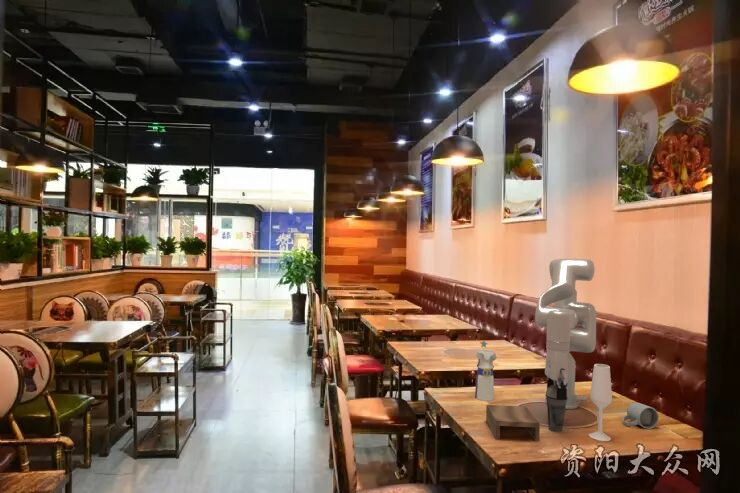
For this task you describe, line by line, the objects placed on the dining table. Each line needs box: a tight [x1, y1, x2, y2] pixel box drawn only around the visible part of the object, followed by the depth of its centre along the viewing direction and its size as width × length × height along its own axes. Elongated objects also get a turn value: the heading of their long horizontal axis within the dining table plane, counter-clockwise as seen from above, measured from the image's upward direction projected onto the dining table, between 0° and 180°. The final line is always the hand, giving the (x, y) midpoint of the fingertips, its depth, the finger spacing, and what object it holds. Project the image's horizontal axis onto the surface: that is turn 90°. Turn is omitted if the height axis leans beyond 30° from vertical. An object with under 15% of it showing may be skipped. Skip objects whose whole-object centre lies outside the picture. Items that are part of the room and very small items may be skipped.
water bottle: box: [474, 339, 497, 402], centre depth 199 cm, size 8×9×25 cm
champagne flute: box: [588, 363, 613, 442], centre depth 160 cm, size 7×7×24 cm
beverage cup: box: [544, 381, 568, 433], centre depth 166 cm, size 7×7×20 cm
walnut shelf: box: [485, 404, 541, 442], centre depth 164 cm, size 14×16×6 cm
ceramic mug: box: [621, 402, 660, 430], centre depth 173 cm, size 11×8×8 cm
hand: (556, 395), depth 165 cm, fingers open, 9 cm apart
